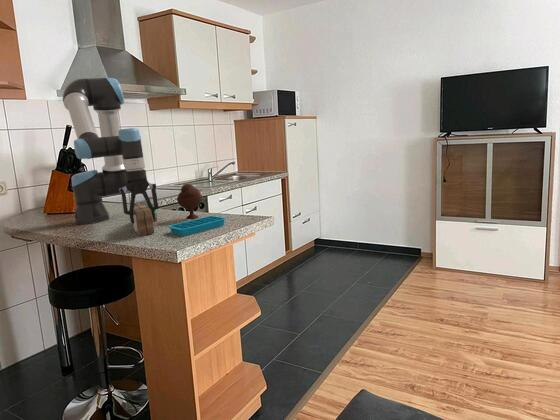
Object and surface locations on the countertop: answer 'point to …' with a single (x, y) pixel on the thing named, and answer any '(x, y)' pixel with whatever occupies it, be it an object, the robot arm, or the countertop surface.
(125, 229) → the countertop surface
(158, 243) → the countertop surface
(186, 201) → the ice cream bowl
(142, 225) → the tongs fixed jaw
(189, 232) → the ice cube tray
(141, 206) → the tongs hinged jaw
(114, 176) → the robot arm
